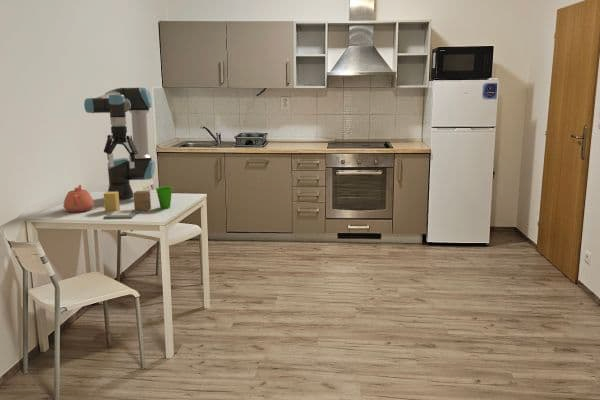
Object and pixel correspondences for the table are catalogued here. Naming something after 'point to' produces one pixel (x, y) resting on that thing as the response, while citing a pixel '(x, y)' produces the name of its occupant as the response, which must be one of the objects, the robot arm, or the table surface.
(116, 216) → the board
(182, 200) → the table surface
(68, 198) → the orange rounded lump
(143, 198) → the walnut block
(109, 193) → the mustard block
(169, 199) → the cup
